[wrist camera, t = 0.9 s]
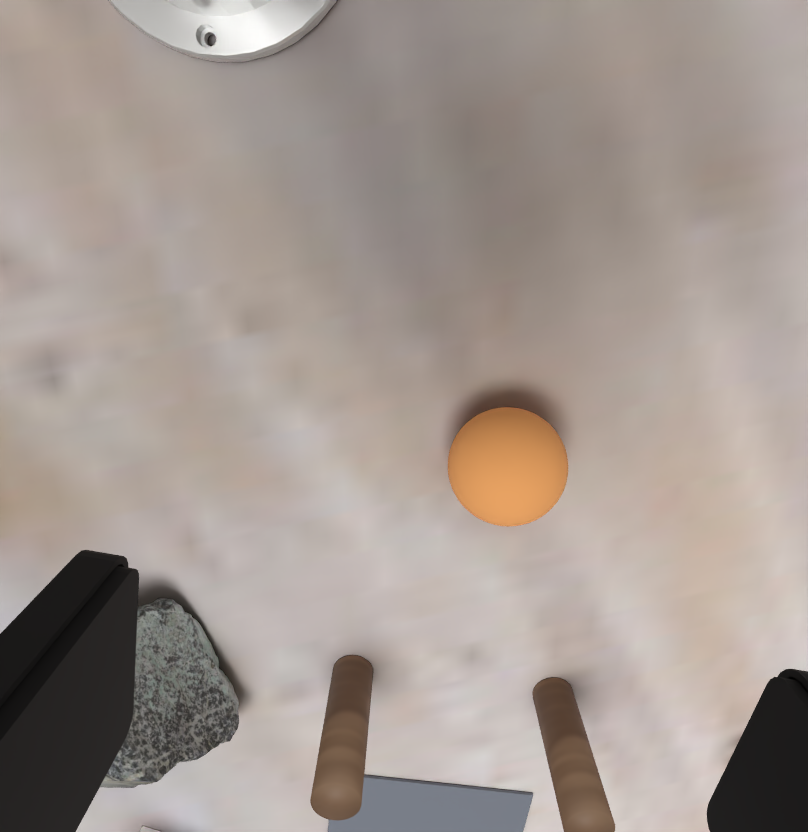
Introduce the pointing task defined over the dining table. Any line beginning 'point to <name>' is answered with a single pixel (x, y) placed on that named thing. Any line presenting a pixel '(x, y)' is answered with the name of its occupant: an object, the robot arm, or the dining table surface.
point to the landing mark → (435, 808)
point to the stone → (173, 698)
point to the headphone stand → (148, 829)
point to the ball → (507, 466)
